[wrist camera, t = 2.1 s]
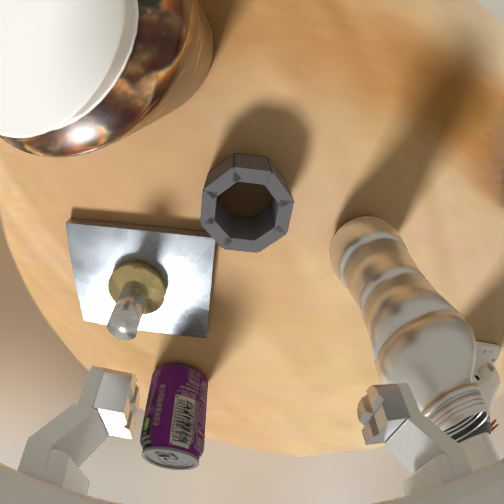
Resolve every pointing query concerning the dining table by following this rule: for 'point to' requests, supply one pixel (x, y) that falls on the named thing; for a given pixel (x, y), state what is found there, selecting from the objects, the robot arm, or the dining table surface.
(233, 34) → the dining table surface
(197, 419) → the beverage can
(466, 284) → the dining table surface
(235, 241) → the octagonal nut
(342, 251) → the plastic bottle
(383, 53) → the dining table surface
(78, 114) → the jar
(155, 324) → the post stand
